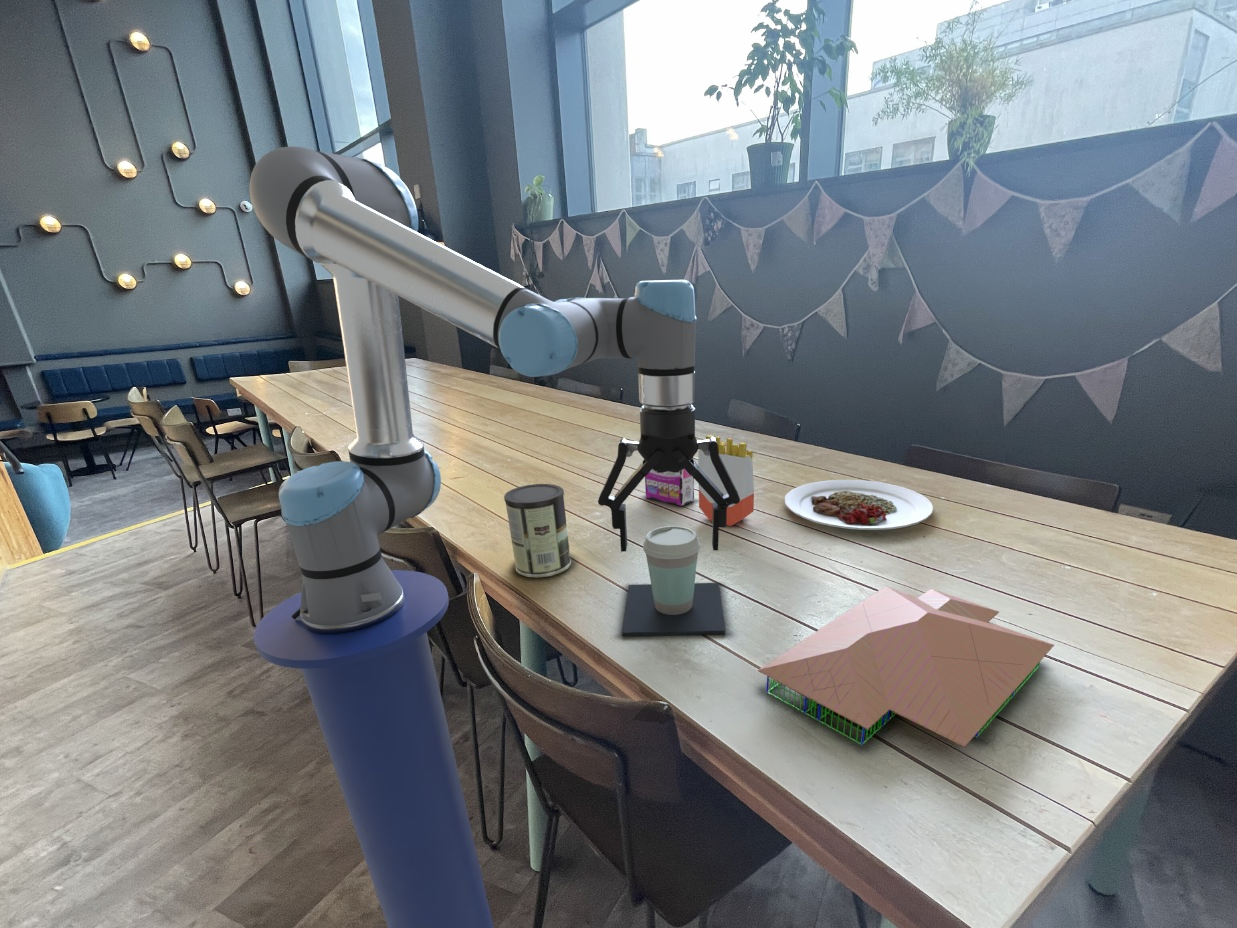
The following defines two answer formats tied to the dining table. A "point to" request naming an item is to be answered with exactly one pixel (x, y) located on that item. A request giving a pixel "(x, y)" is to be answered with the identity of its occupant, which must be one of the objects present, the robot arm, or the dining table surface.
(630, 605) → the mat
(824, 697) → the house
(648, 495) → the candy bar box
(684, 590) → the coffee cup
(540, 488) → the coffee can
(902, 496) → the plated food
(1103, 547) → the dining table surface
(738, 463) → the french fries container
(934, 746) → the dining table surface
